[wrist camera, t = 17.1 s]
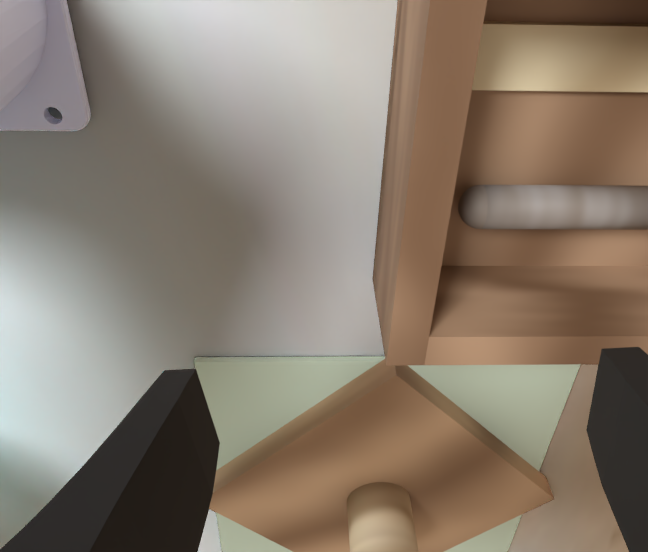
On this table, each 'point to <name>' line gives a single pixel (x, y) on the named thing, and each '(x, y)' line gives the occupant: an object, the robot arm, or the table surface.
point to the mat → (336, 371)
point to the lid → (378, 473)
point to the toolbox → (514, 183)
